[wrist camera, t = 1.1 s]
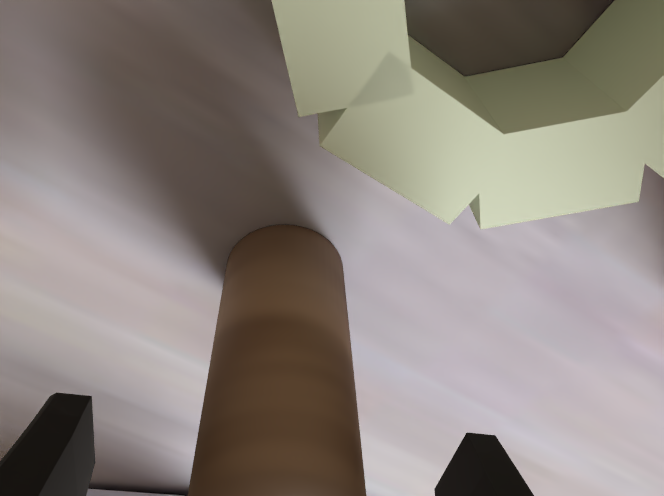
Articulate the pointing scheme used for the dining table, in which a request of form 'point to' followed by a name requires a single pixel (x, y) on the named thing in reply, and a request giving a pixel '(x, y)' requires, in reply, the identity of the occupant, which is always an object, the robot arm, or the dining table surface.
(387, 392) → the dining table surface
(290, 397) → the brown wooden cylinder
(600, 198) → the sage bead
